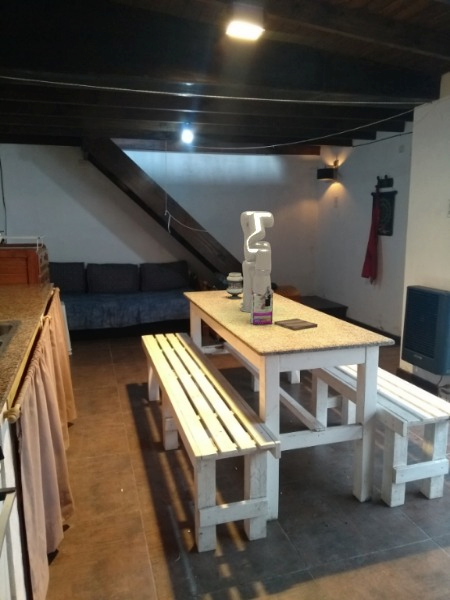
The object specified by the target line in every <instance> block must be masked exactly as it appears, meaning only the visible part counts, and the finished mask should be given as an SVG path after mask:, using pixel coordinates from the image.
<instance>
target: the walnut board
mask: <svg viewBox="0 0 450 600" xmlns="http://www.w3.org/2000/svg"><path fill="white" fill-rule="evenodd" d="M273 325H275V326H278V327H281V328H285V329H288V330H291V331H301V330H307V329H313V328H318V323H315V322H311V321H307V320H304V319H300V318H297V317H295V318H290V319H283V320H275V321H274V323H273Z"/></svg>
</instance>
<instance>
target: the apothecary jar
mask: <svg viewBox="0 0 450 600" xmlns="http://www.w3.org/2000/svg"><path fill="white" fill-rule="evenodd" d="M226 281H227V282H228V284H227V285H228V287H227V288H226V292H227V294H228V295H230V296H228V297H227V299H229V300H235V301H236V300H243V297H241V296H240V295H241V294H242V295H243V283H242V282H243V276H242V273H241V272H230V273H228V276H226Z"/></svg>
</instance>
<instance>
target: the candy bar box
mask: <svg viewBox="0 0 450 600" xmlns="http://www.w3.org/2000/svg"><path fill="white" fill-rule="evenodd" d="M267 296H268V295H267ZM273 297H274V295H273V296H272V297H271V303H270V306H268V307H265V299H266V297H265V295H260V294H255V293H253V294H251V312H250V324H252V325H253V326H257V325H272V324H273V309H274V308H273V307H274V305H273V304H274V298H273Z"/></svg>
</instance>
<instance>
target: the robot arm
mask: <svg viewBox="0 0 450 600" xmlns="http://www.w3.org/2000/svg"><path fill="white" fill-rule="evenodd" d="M274 222H275V218H274V215H273V213H272V212H269V211H263V210H262V211H261V210H260V211H258V210H255V211H254V210H247V211H243V212H242V213H241V215H240V225H241V229H242V231H243V236H244V237H243V238H244V239H243V241H244V244H243V255H244V260H243V262H242V265H241V266H242V275H243V276H242V277H243V281H242V282H243V283H242V288H243V293H242V302H241V303H240V305H241V306H242V307H240V311H241V312H244V313H251V294H253V293H255V294H260V295H265V297H266V299H265V307H268V306H270V303H271V297H272V296H273V297H274V290H273V289H272V281H271V280H272V279H271V273H272V272H271V271H272V249H271V248H272V247H271V243H270V242H268V241H265V240H263V239H264V238H265V237H266V231H265V229H266V228H272V227H273V226H274V224H275V223H274ZM267 295H268V296H267Z"/></svg>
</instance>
